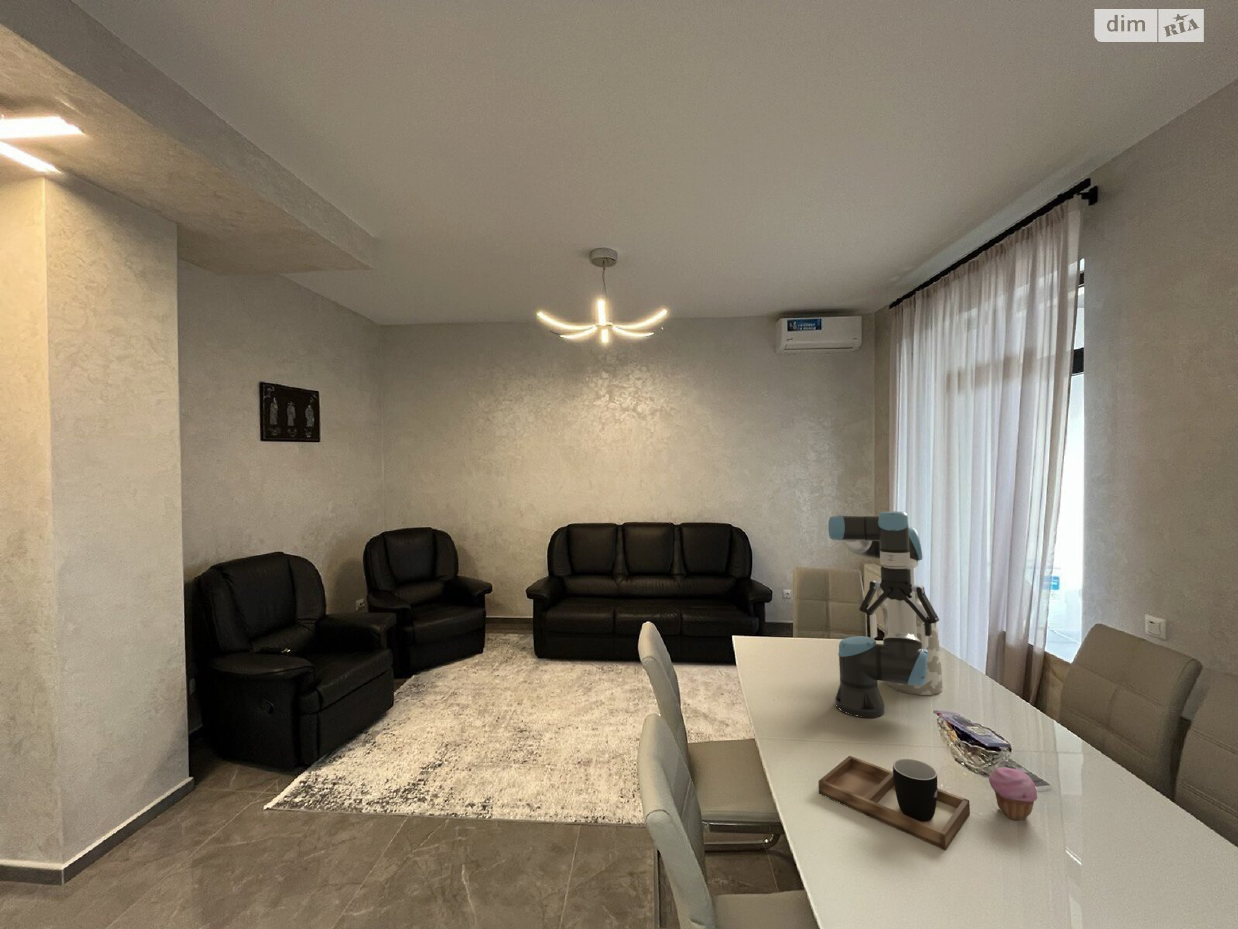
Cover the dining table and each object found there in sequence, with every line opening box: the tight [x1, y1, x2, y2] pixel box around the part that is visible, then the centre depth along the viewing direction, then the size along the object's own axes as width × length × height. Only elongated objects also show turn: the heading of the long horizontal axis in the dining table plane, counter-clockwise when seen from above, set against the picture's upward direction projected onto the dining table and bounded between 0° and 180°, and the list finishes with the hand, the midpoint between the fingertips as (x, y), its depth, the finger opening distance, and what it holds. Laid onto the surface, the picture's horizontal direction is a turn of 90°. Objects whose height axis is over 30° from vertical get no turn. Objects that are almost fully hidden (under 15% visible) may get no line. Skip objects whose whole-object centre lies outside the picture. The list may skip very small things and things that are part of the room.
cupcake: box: [988, 766, 1038, 821], centre depth 121 cm, size 9×9×10 cm
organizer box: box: [818, 755, 971, 851], centre depth 127 cm, size 28×17×3 cm, turn 42°
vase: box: [876, 584, 944, 696], centre depth 197 cm, size 20×19×38 cm
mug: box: [892, 758, 938, 822], centre depth 123 cm, size 12×9×10 cm
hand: (898, 642), depth 148 cm, fingers open, 13 cm apart
